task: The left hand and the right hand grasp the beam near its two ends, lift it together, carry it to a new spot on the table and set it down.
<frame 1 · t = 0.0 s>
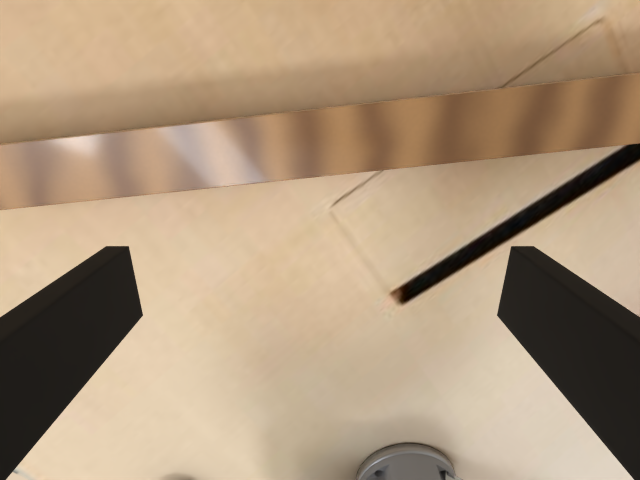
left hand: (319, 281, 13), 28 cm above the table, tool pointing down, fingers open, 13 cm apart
beam: (315, 136, 38), on the table
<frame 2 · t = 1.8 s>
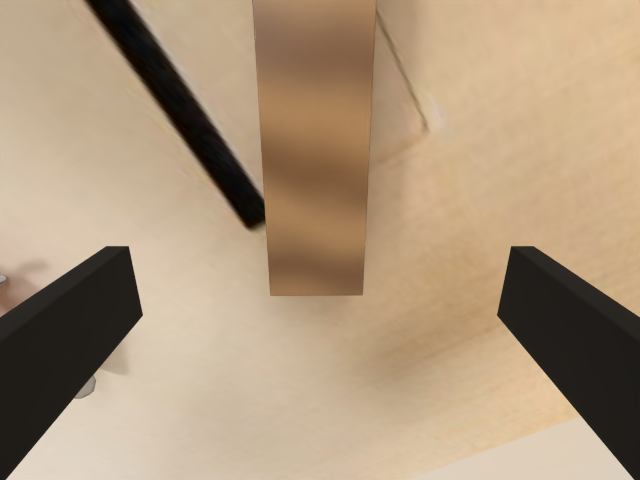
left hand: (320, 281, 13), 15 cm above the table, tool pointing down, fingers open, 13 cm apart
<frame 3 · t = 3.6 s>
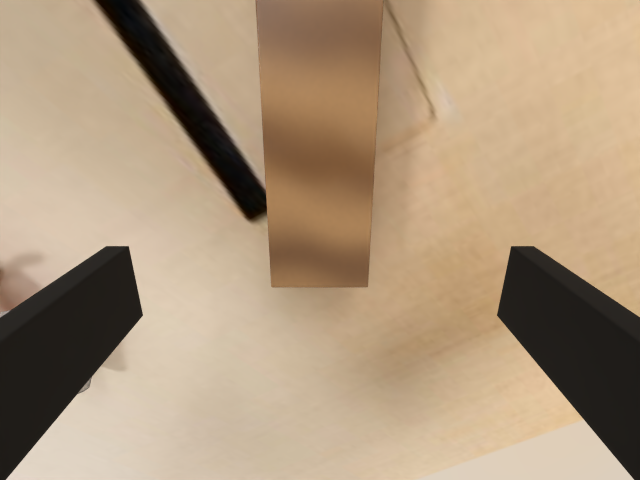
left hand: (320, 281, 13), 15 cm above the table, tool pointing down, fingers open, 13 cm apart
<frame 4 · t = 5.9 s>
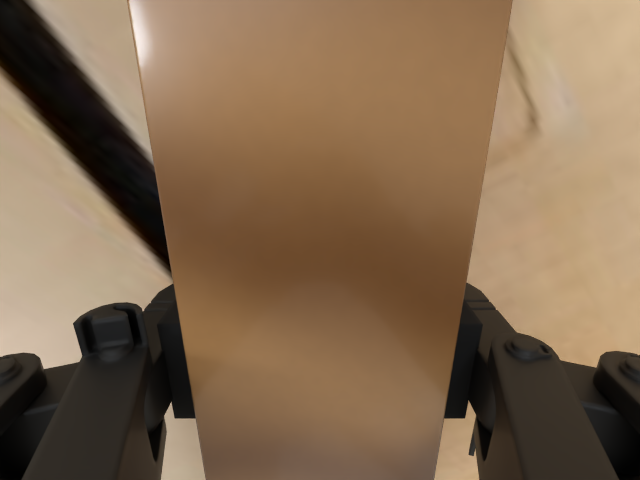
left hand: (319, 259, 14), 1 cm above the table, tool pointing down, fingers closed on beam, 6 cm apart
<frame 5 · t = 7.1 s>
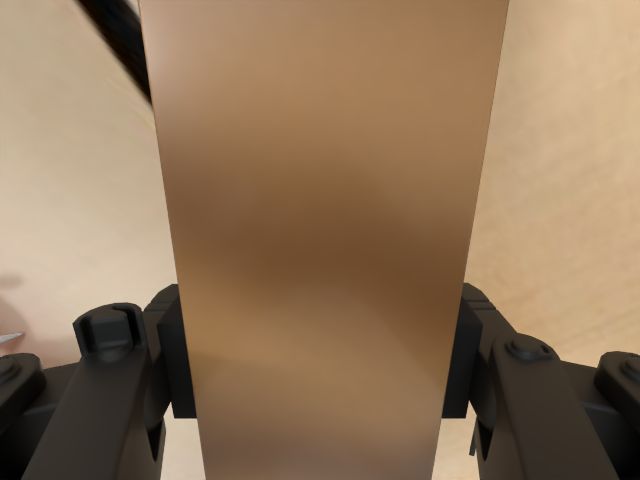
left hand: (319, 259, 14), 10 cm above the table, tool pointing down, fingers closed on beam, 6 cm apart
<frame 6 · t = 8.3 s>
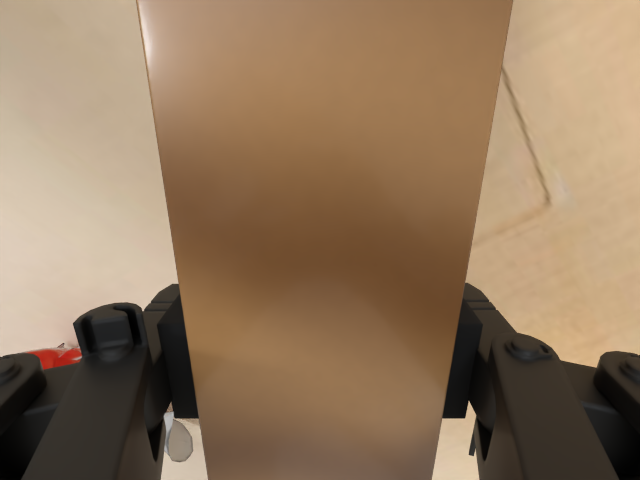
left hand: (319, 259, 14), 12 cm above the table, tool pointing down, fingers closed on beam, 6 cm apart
fish: (134, 373, 31), on the table
when the left hand's fingers open (2 cm above the table, at t = 10.8 s): beam drops 1 cm, on the table.
when the right hand's fingers open (4 cm above the table, at t = 11.0 s): beam stays where it is, on the table.
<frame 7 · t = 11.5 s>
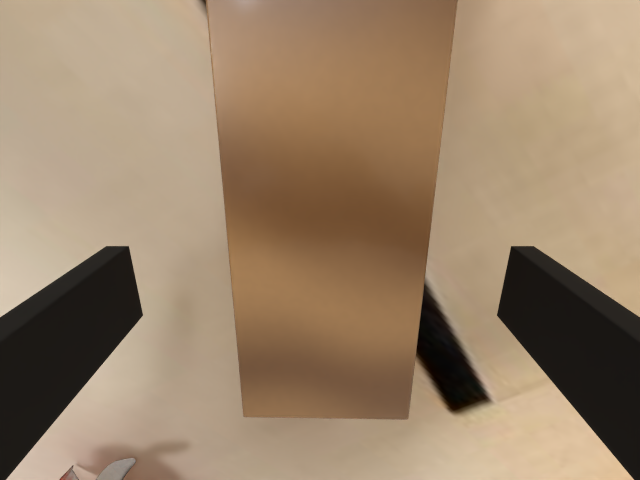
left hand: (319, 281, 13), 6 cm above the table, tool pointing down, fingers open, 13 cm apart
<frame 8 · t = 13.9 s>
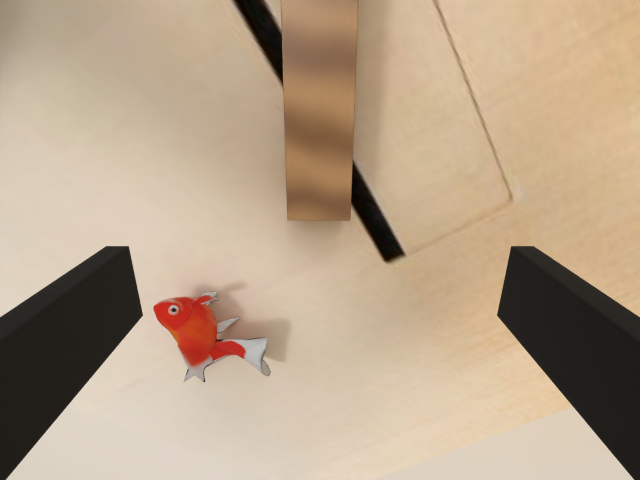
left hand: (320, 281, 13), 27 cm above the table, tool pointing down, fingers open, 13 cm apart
fish: (228, 319, 44), on the table
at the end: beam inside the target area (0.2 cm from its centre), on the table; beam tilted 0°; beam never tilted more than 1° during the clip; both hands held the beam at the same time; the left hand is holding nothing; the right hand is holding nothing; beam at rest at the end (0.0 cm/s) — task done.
